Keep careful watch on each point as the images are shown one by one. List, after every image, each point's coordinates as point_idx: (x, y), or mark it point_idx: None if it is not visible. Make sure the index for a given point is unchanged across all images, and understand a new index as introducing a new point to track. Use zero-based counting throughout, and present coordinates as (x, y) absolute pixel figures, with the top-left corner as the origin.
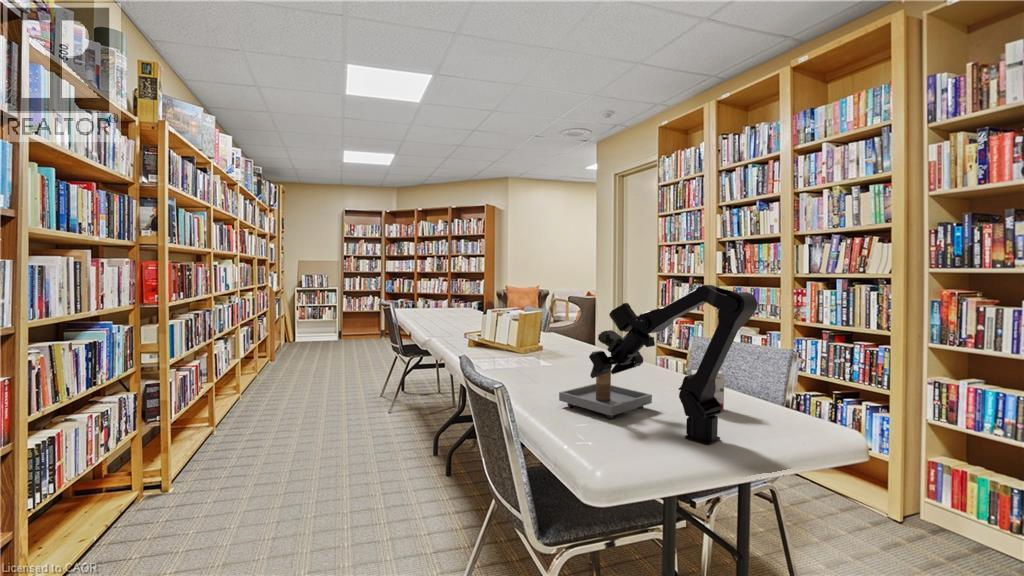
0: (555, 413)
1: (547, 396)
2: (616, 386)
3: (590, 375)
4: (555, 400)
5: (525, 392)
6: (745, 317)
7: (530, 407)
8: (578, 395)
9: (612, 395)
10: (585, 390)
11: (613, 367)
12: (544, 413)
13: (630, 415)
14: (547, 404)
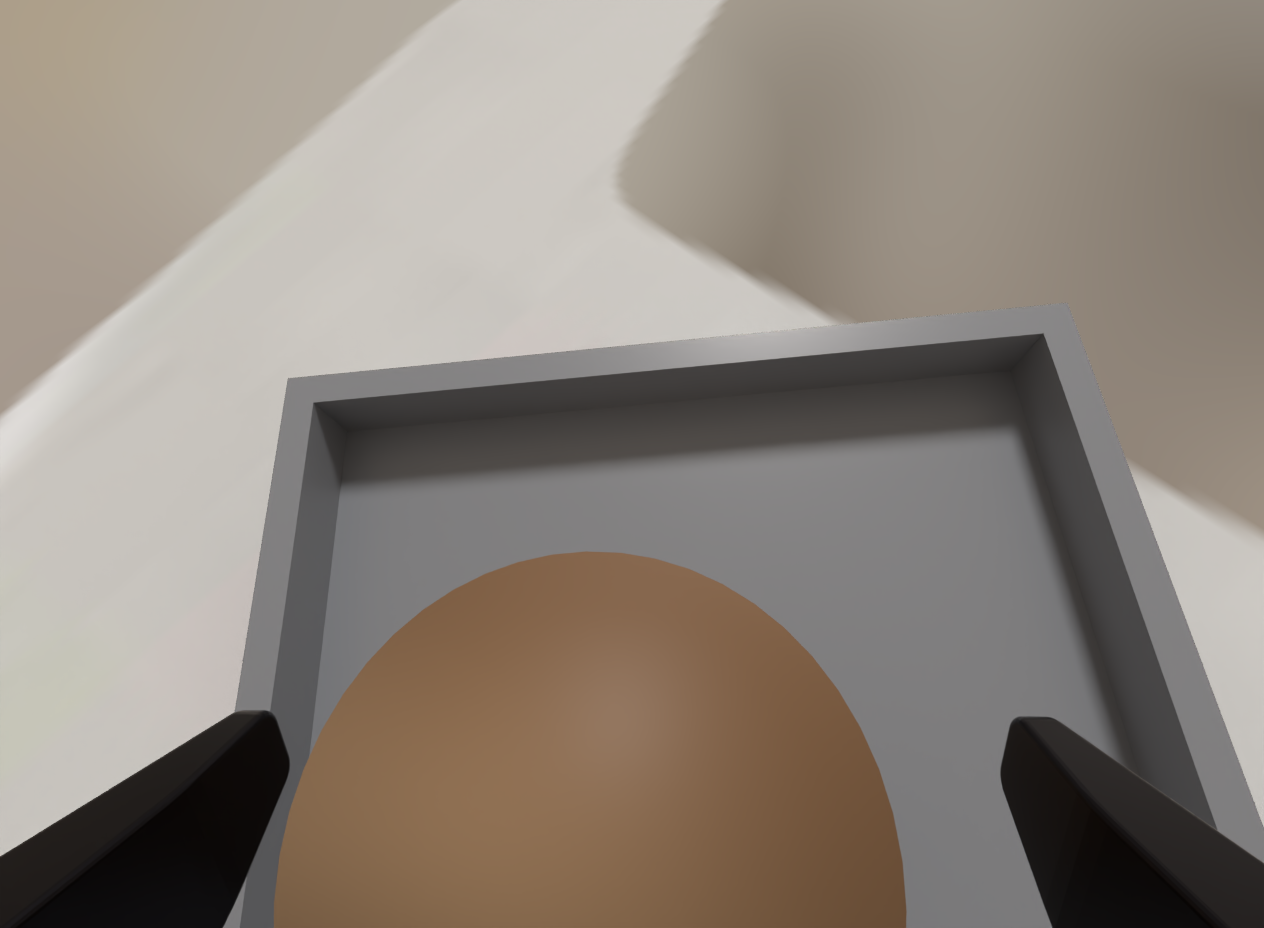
0: (156, 592)
1: (527, 186)
2: (1163, 578)
3: (233, 722)
4: (487, 299)
5: (476, 43)
6: None
7: (170, 343)
8: (559, 448)
9: (932, 692)
10: (728, 385)
11: (1123, 848)
12: (95, 534)
13: None
14: (338, 351)
